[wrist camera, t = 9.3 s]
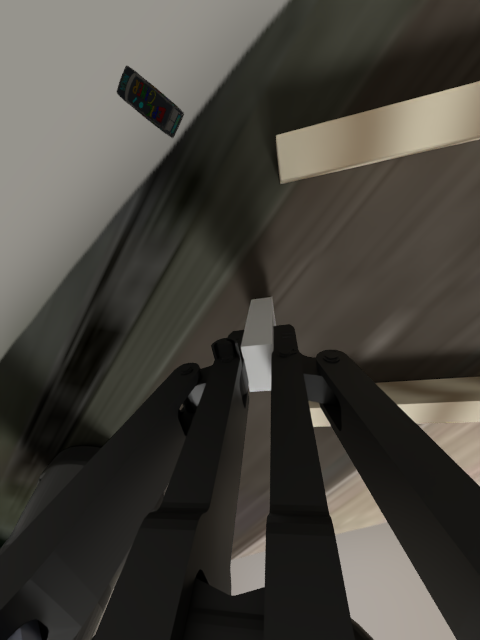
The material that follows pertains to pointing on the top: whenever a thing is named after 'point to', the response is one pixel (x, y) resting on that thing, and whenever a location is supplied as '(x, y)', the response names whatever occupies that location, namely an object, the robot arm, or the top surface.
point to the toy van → (149, 102)
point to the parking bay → (379, 145)
